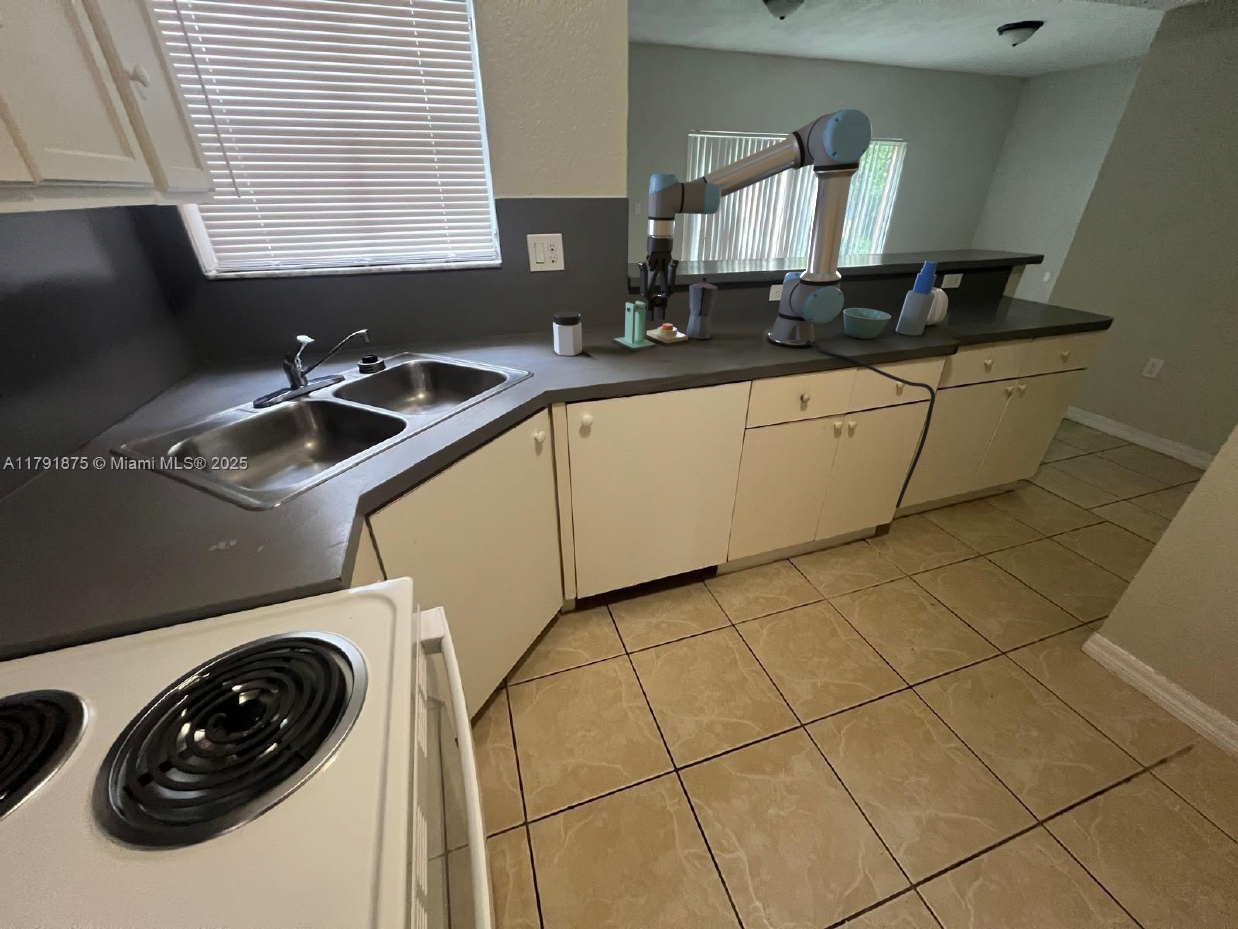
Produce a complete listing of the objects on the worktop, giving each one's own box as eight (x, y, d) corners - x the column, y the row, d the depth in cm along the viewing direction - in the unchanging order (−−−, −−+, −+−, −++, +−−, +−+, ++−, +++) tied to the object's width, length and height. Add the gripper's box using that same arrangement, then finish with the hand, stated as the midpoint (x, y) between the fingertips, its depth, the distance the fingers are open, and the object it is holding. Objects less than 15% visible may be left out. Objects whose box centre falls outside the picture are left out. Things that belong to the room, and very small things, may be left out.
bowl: (893, 337, 176) (900, 314, 172) (868, 344, 169) (875, 320, 164) (854, 327, 187) (860, 306, 183) (829, 333, 180) (834, 311, 176)
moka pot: (710, 332, 179) (717, 274, 169) (713, 344, 166) (720, 283, 156) (684, 330, 180) (689, 273, 170) (685, 343, 167) (691, 281, 156)
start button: (674, 330, 167) (675, 325, 166) (666, 331, 165) (666, 326, 164) (668, 327, 170) (668, 322, 169) (660, 329, 168) (660, 323, 167)
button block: (687, 342, 167) (688, 331, 165) (666, 346, 163) (667, 334, 161) (666, 334, 176) (667, 322, 174) (646, 337, 172) (646, 326, 170)
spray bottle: (897, 327, 189) (918, 258, 176) (923, 331, 185) (946, 261, 172) (894, 332, 182) (916, 261, 170) (921, 336, 178) (945, 264, 166)
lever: (665, 305, 147) (663, 293, 146) (656, 306, 146) (654, 294, 145) (638, 314, 160) (636, 302, 160) (629, 315, 159) (627, 304, 158)
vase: (911, 317, 204) (922, 283, 197) (947, 324, 195) (959, 289, 188) (896, 322, 196) (907, 287, 190) (933, 329, 187) (945, 293, 180)
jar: (585, 354, 154) (584, 316, 148) (561, 357, 151) (559, 318, 145) (575, 346, 161) (574, 309, 155) (551, 349, 158) (549, 311, 152)
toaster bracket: (655, 347, 162) (657, 304, 155) (633, 351, 158) (634, 308, 150) (635, 338, 170) (636, 297, 163) (613, 342, 166) (614, 300, 159)
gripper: (675, 234, 145) (669, 313, 157) (628, 236, 137) (626, 320, 149) (691, 236, 140) (684, 319, 152) (643, 239, 132) (640, 325, 144)
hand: (655, 319), depth 150 cm, fingers closed on lever, 4 cm apart
